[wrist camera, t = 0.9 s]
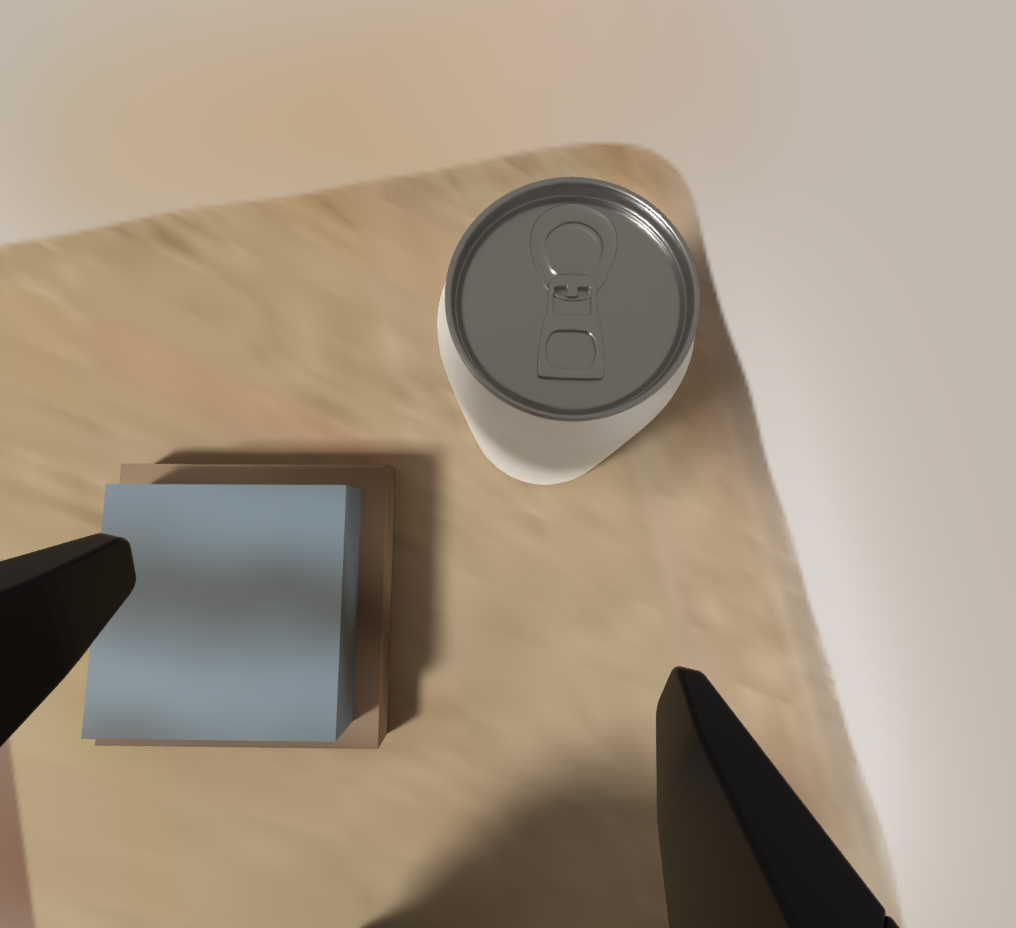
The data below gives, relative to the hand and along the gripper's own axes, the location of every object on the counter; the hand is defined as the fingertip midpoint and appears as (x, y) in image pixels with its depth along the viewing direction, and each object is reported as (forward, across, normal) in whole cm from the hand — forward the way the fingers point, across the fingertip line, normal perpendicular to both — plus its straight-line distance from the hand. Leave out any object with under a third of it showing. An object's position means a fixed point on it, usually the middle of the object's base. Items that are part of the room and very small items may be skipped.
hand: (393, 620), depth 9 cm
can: (+16, -2, +2) cm, 16 cm away
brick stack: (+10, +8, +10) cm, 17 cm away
